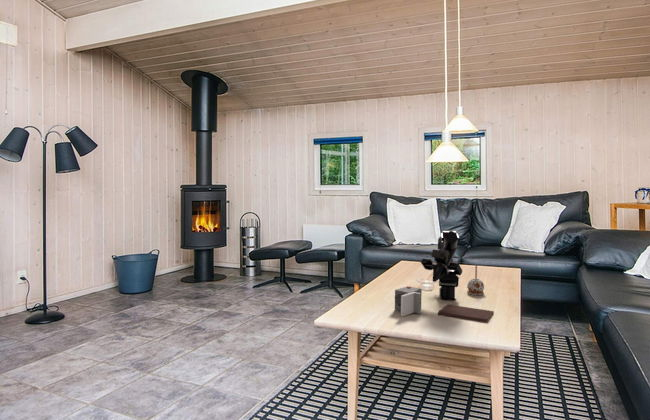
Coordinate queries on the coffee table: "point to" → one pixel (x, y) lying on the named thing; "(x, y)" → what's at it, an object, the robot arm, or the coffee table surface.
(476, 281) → the decorative ornament
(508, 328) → the coffee table surface
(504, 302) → the coffee table surface
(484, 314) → the notebook
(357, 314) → the coffee table surface
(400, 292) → the block
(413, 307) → the door
